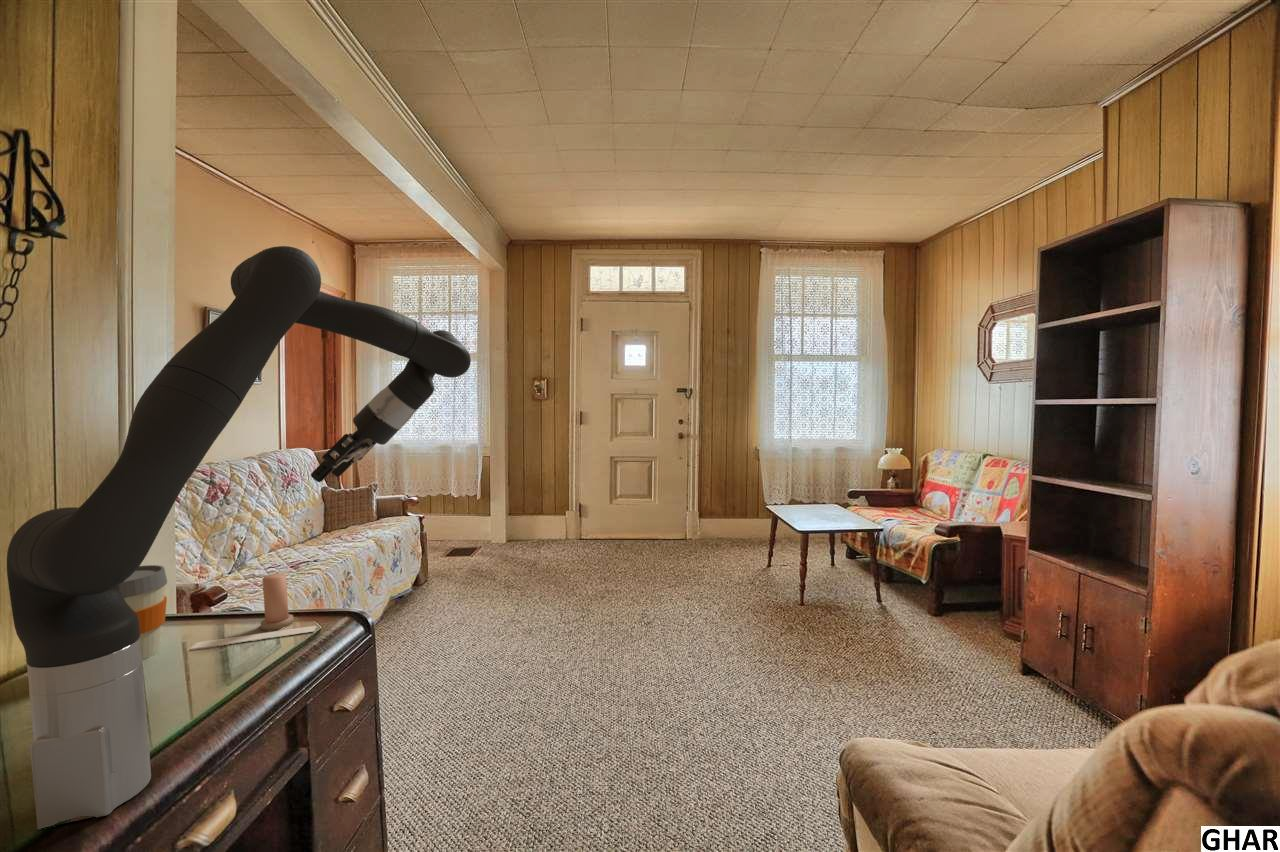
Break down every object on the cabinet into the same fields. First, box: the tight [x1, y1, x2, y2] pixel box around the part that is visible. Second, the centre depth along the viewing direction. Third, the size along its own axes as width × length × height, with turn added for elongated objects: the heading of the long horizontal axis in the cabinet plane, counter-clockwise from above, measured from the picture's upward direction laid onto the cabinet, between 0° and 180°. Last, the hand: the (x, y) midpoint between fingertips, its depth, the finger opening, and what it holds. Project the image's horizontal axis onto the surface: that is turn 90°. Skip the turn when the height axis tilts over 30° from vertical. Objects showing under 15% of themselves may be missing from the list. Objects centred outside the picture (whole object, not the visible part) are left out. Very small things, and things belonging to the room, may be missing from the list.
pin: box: [260, 573, 295, 631], centre depth 115 cm, size 6×6×10 cm
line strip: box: [189, 625, 317, 651], centre depth 109 cm, size 3×20×1 cm, turn 108°
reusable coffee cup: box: [119, 564, 168, 661], centre depth 102 cm, size 13×12×15 cm
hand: (324, 476), depth 108 cm, fingers open, 8 cm apart
